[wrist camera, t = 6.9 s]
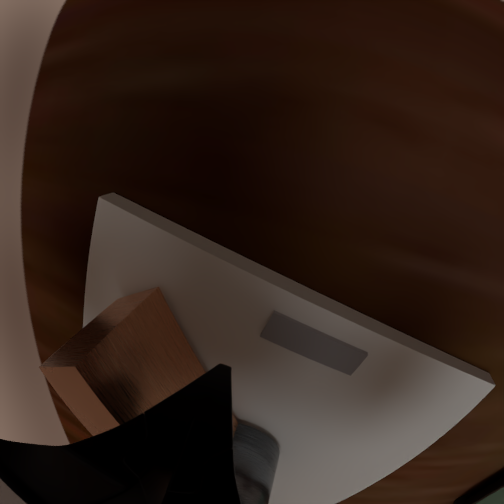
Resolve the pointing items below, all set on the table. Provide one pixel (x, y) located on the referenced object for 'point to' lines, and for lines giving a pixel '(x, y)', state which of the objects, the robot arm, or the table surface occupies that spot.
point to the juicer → (486, 495)
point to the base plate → (287, 355)
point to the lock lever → (146, 380)
